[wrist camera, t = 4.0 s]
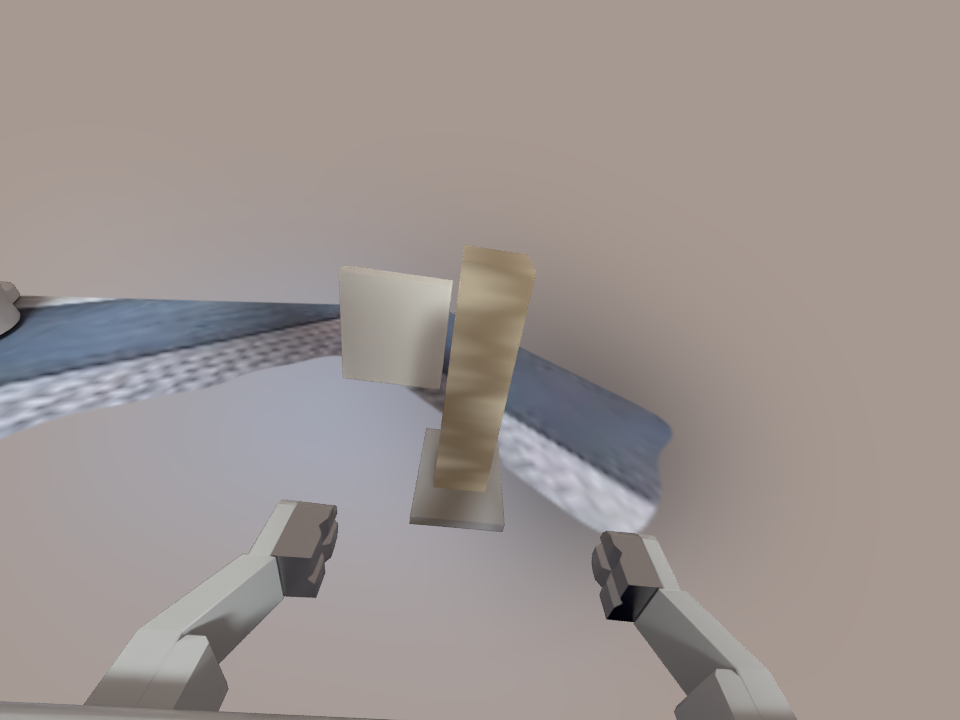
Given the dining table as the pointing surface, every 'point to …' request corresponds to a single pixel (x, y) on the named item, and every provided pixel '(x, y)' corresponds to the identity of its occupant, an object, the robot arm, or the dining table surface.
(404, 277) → the tile
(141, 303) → the dining table surface
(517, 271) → the wooden post on base
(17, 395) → the dining table surface
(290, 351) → the dining table surface
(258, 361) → the dining table surface
